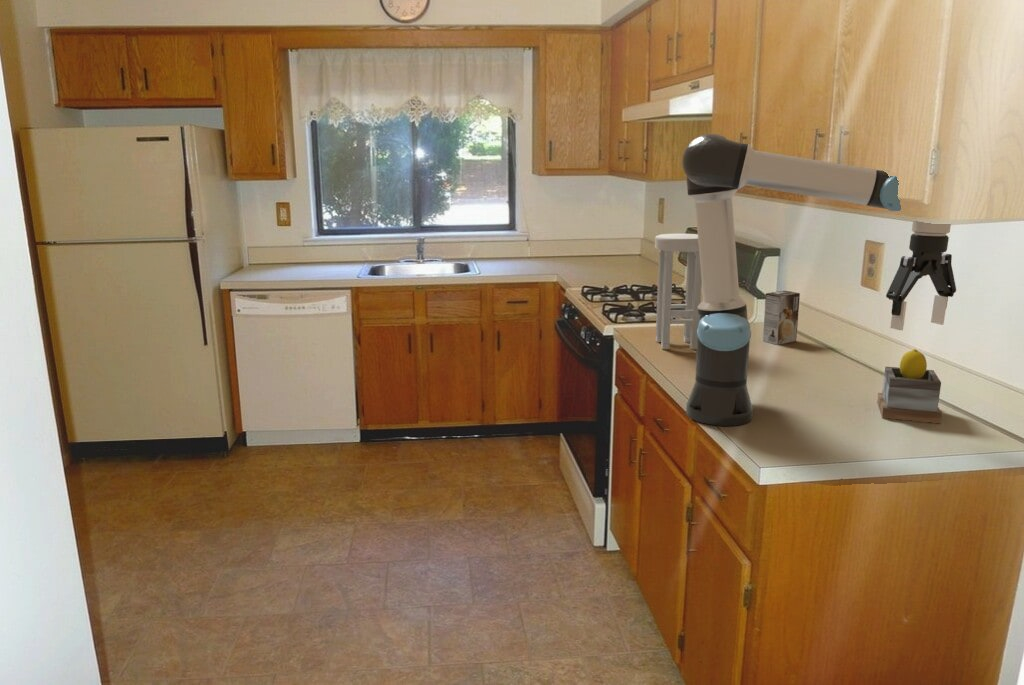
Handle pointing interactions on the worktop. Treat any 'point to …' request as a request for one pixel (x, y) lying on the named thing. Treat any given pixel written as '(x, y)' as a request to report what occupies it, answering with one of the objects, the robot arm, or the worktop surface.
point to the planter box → (910, 397)
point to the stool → (665, 270)
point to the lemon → (913, 365)
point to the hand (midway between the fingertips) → (917, 326)
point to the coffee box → (781, 317)
